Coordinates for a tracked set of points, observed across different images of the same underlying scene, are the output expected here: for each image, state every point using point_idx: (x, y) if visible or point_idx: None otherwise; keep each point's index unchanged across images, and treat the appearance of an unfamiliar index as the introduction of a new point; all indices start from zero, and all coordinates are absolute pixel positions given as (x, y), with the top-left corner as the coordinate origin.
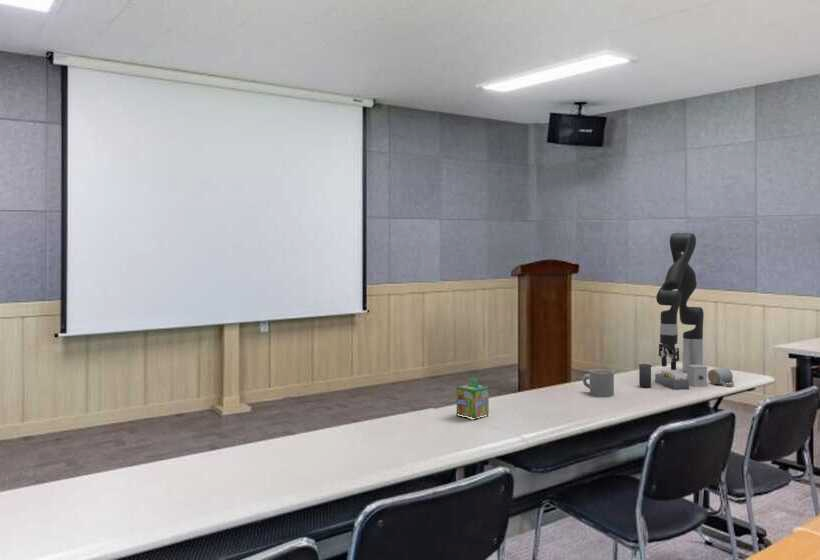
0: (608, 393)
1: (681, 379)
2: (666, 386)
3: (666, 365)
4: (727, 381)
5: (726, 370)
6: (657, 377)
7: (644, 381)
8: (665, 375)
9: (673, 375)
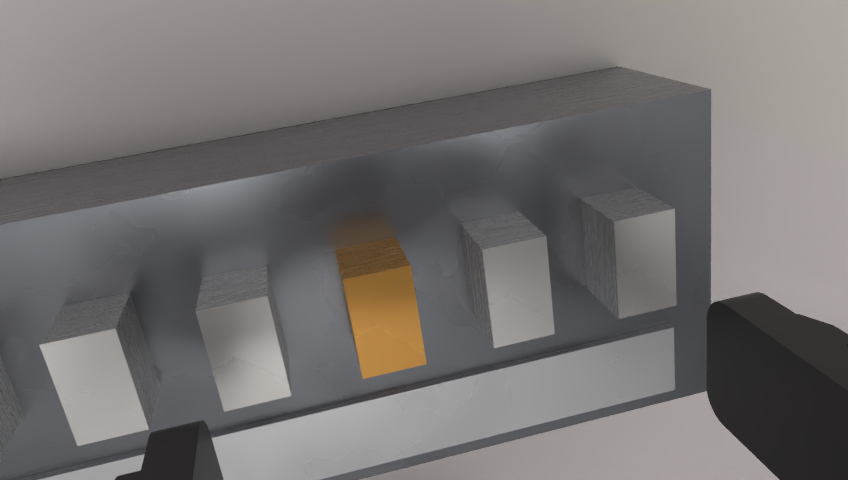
0: None
1: (3, 470)
2: (193, 145)
3: (721, 418)
4: None
5: None
6: (579, 98)
7: None
8: (465, 251)
9: (55, 365)
